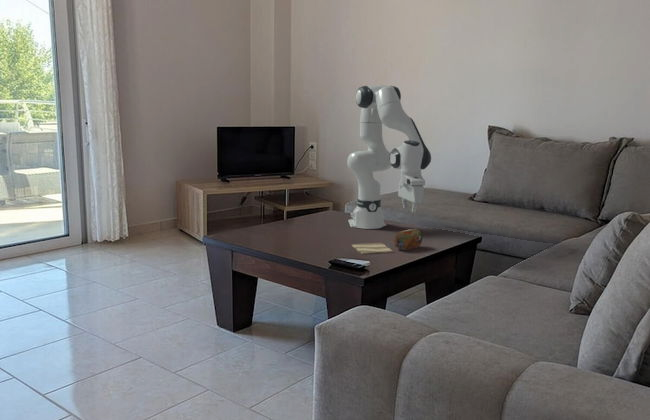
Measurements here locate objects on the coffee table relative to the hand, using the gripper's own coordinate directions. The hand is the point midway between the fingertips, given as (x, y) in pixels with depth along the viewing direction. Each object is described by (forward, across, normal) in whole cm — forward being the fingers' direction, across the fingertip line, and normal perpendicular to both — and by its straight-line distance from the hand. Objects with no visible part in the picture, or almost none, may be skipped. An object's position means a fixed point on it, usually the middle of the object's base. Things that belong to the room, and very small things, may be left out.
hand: (409, 210), depth 257 cm
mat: (+17, -2, -16) cm, 23 cm away
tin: (+17, 0, 0) cm, 17 cm away
